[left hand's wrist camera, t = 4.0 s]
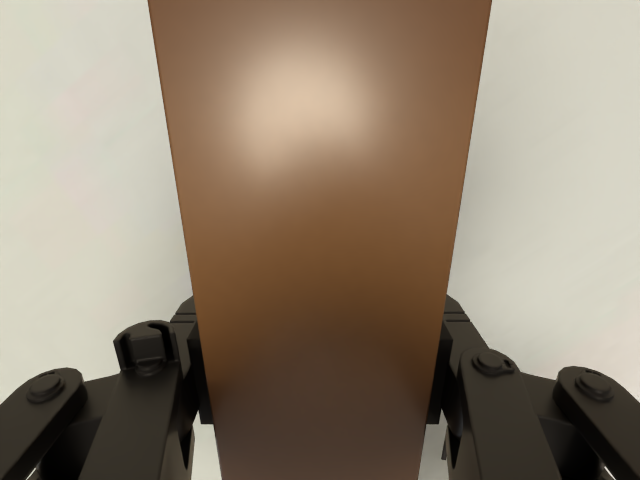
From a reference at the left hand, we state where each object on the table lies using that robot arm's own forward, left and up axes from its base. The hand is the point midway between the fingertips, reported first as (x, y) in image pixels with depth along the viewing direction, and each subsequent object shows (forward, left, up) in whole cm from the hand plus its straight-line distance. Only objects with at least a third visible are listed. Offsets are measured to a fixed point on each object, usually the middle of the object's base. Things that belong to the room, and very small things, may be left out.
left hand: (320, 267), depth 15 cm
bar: (+8, +2, -1) cm, 9 cm away
